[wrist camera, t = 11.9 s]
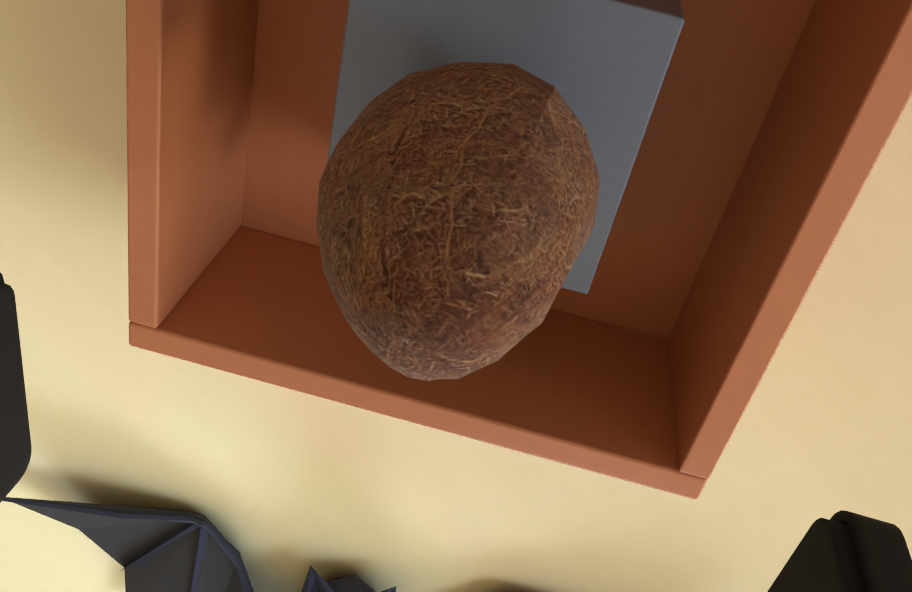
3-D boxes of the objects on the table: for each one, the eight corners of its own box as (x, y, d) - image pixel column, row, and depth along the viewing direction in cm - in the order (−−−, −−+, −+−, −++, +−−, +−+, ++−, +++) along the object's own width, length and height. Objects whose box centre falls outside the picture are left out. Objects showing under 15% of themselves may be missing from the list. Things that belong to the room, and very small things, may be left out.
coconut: (388, 230, 21) (281, 445, 15) (362, 22, 19) (216, 168, 12) (601, 233, 20) (591, 464, 14) (605, 14, 18) (596, 168, 11)
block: (403, -97, 21) (357, -67, 18) (674, -27, 21) (685, 18, 17) (363, 154, 25) (318, 223, 21) (592, 215, 25) (587, 295, 21)
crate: (261, -346, 20) (120, -387, 14) (924, -180, 19) (1044, -155, 14) (224, 231, 28) (127, 346, 23) (682, 354, 28) (697, 501, 22)
